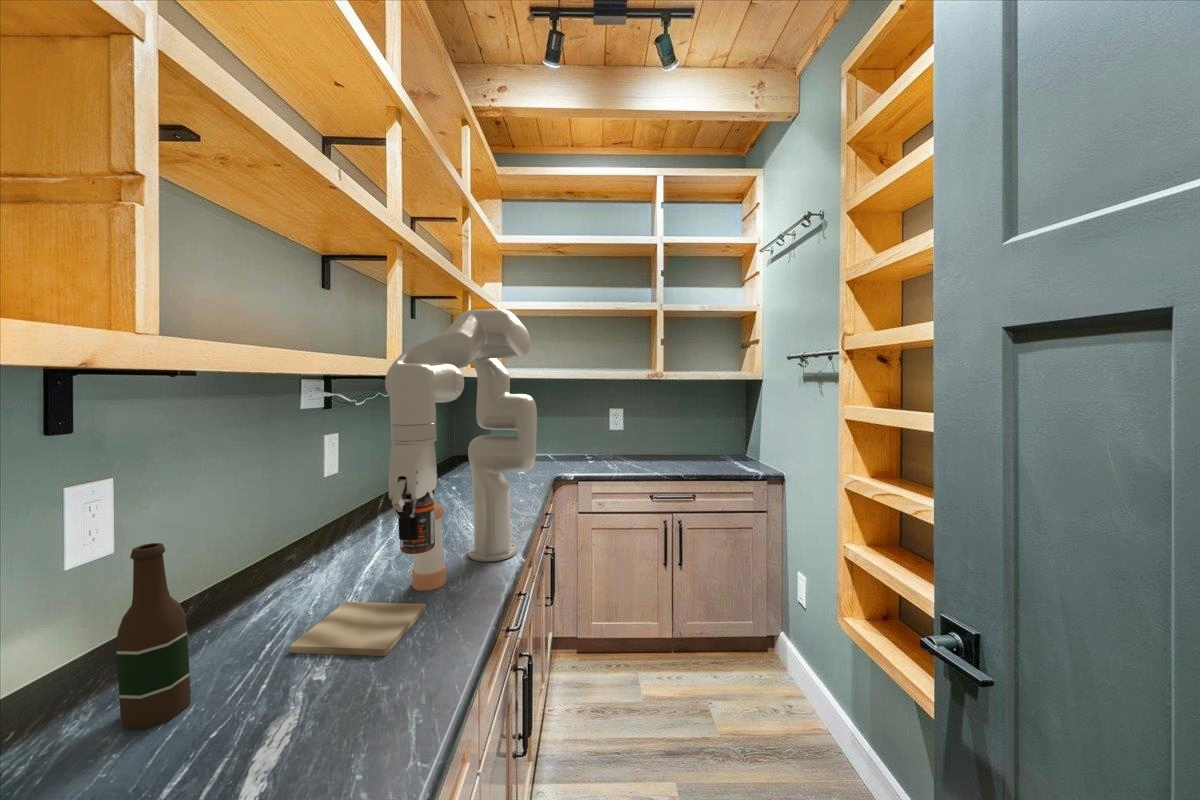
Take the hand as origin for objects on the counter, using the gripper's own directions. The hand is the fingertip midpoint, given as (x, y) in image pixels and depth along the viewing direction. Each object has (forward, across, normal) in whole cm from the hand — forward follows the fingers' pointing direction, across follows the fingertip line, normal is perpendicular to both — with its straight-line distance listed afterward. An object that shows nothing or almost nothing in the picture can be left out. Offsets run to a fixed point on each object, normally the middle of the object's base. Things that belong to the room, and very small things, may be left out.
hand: (417, 531), depth 87 cm
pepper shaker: (+20, -22, -7) cm, 30 cm away
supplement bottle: (+3, 0, 0) cm, 3 cm away
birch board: (+19, -2, -12) cm, 23 cm away
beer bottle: (+19, +21, -29) cm, 41 cm away
